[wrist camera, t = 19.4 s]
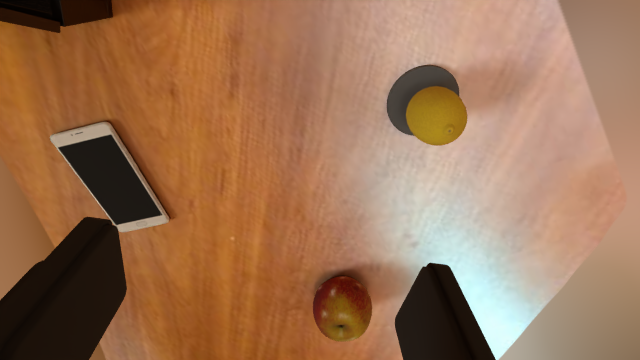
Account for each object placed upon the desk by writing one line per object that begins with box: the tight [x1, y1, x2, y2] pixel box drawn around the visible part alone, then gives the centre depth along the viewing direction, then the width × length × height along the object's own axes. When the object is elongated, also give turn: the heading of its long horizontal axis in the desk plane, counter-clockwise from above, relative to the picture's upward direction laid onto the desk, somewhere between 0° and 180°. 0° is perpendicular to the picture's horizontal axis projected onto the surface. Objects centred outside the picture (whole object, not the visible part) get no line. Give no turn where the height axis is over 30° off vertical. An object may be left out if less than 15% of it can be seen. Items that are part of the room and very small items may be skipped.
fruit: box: [313, 276, 372, 341], centre depth 49 cm, size 10×9×8 cm
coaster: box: [387, 65, 459, 136], centre depth 36 cm, size 8×8×1 cm
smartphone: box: [50, 122, 170, 232], centre depth 40 cm, size 8×1×15 cm
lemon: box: [406, 86, 467, 145], centre depth 33 cm, size 6×6×8 cm
